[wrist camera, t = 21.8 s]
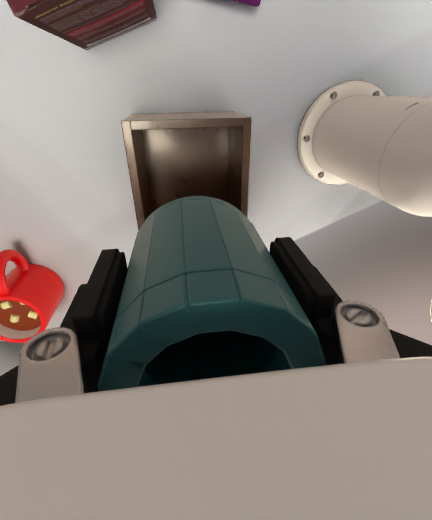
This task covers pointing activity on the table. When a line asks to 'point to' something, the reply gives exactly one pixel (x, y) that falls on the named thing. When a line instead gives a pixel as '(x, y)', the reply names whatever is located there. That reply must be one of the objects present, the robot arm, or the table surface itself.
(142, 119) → the chest
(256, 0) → the perfume bottle
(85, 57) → the table surface
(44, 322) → the mug
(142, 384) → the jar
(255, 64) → the table surface
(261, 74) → the table surface
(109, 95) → the table surface
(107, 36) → the supplement box
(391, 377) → the robot arm
